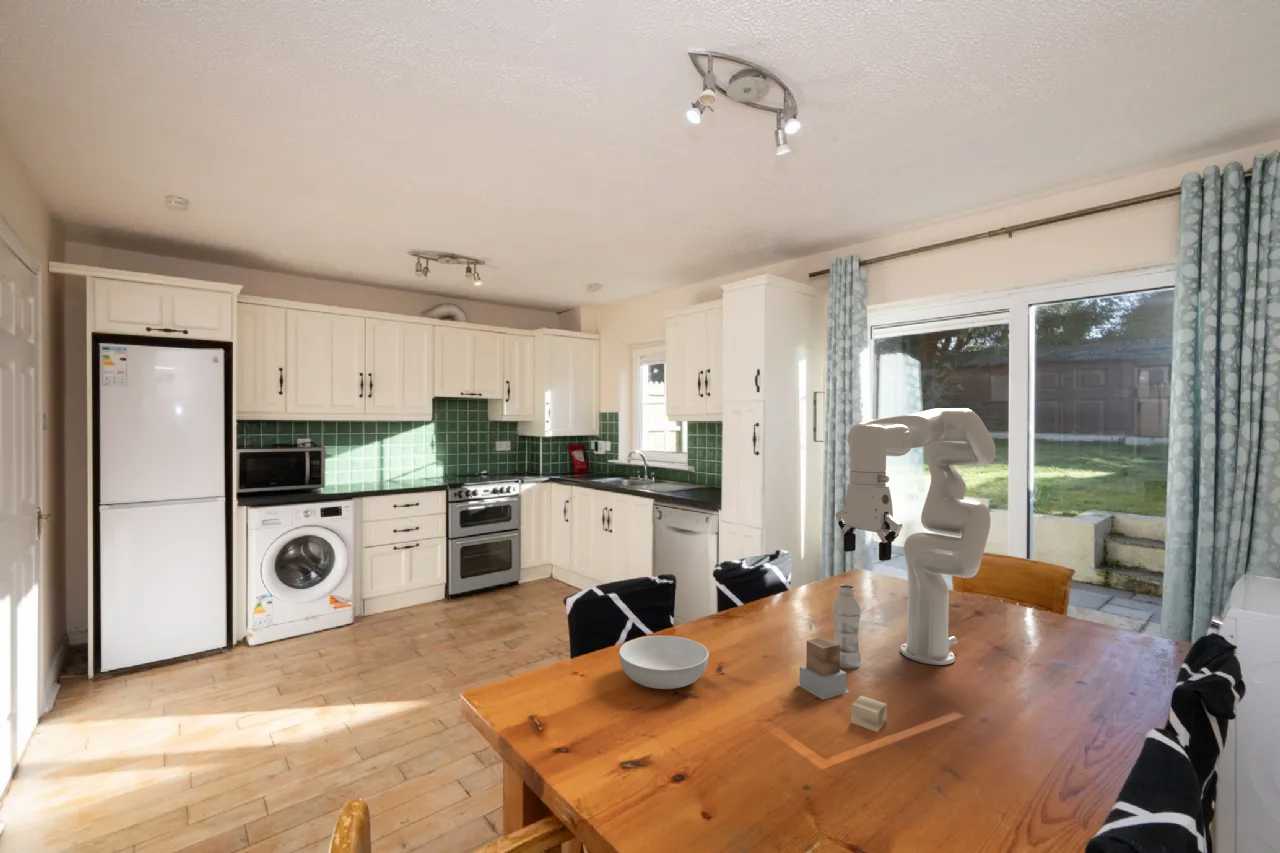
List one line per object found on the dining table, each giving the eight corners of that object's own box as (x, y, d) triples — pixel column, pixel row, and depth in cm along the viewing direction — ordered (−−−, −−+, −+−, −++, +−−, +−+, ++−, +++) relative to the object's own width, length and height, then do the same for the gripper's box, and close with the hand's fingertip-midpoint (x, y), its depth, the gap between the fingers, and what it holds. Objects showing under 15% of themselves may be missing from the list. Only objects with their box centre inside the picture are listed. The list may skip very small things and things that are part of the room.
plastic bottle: (863, 675, 137) (864, 591, 137) (833, 672, 139) (834, 589, 139) (858, 664, 144) (859, 584, 144) (830, 661, 145) (830, 582, 145)
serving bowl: (719, 671, 139) (720, 642, 139) (690, 710, 120) (690, 677, 120) (641, 655, 148) (641, 629, 148) (602, 689, 129) (602, 659, 129)
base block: (822, 678, 133) (822, 660, 133) (846, 690, 127) (846, 672, 127) (799, 684, 130) (799, 666, 129) (823, 697, 123) (823, 679, 123)
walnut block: (822, 663, 131) (823, 637, 131) (839, 671, 127) (840, 644, 127) (806, 667, 129) (806, 640, 129) (823, 676, 125) (823, 648, 125)
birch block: (861, 720, 117) (861, 695, 117) (886, 729, 114) (886, 703, 114) (851, 729, 113) (851, 704, 113) (876, 739, 110) (877, 713, 110)
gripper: (912, 482, 124) (911, 562, 124) (849, 475, 139) (848, 546, 139) (889, 483, 120) (888, 565, 121) (826, 476, 136) (825, 549, 136)
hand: (866, 555), depth 130 cm, fingers open, 9 cm apart
